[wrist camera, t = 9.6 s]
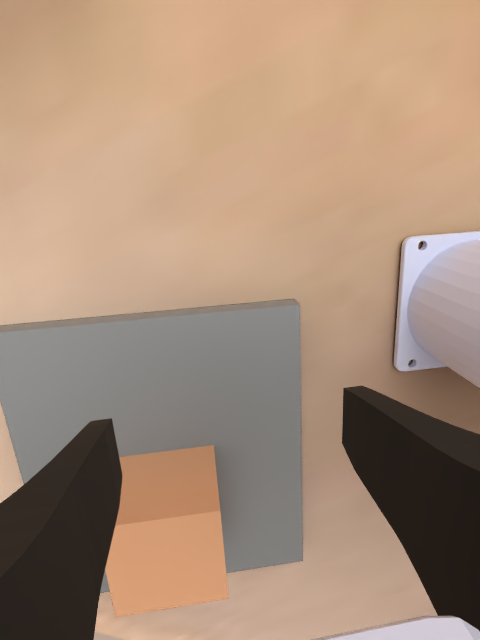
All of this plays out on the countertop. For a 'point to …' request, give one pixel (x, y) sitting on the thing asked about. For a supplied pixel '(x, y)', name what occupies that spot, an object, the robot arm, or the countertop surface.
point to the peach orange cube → (167, 533)
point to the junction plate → (175, 405)
